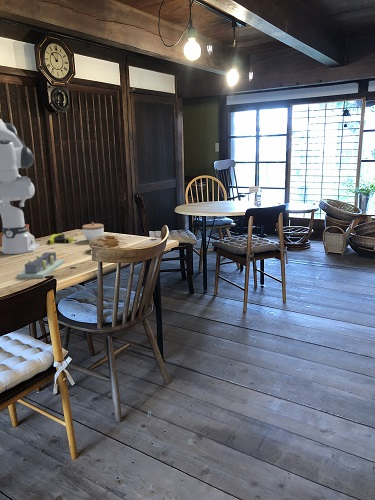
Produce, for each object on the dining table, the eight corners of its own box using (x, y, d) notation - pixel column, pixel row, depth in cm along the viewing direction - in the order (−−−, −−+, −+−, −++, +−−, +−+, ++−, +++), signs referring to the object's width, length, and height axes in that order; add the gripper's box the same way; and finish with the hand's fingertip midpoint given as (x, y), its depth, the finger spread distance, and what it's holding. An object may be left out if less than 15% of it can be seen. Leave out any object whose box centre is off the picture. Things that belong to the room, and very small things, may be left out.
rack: (41, 262, 200) (40, 251, 199) (64, 262, 199) (63, 251, 198) (17, 277, 177) (15, 265, 176) (43, 277, 176) (41, 265, 175)
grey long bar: (46, 260, 198) (45, 252, 197) (56, 260, 198) (55, 252, 197) (25, 273, 178) (24, 264, 177) (36, 273, 177) (35, 264, 176)
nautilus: (129, 246, 232) (127, 254, 217) (90, 245, 229) (87, 253, 215) (128, 232, 229) (127, 240, 215) (90, 232, 227) (86, 239, 213)
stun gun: (76, 232, 258) (52, 233, 256) (71, 239, 239) (45, 240, 238) (76, 237, 259) (52, 238, 257) (72, 244, 240) (46, 245, 238)
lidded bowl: (107, 237, 252) (105, 220, 249) (100, 242, 240) (99, 224, 237) (87, 237, 253) (86, 220, 251) (80, 242, 241) (78, 224, 238)
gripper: (33, 175, 187) (36, 205, 190) (-9, 176, 189) (-5, 205, 192) (26, 176, 181) (30, 207, 184) (-17, 177, 183) (-12, 207, 186)
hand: (12, 206), depth 188 cm, fingers open, 8 cm apart
